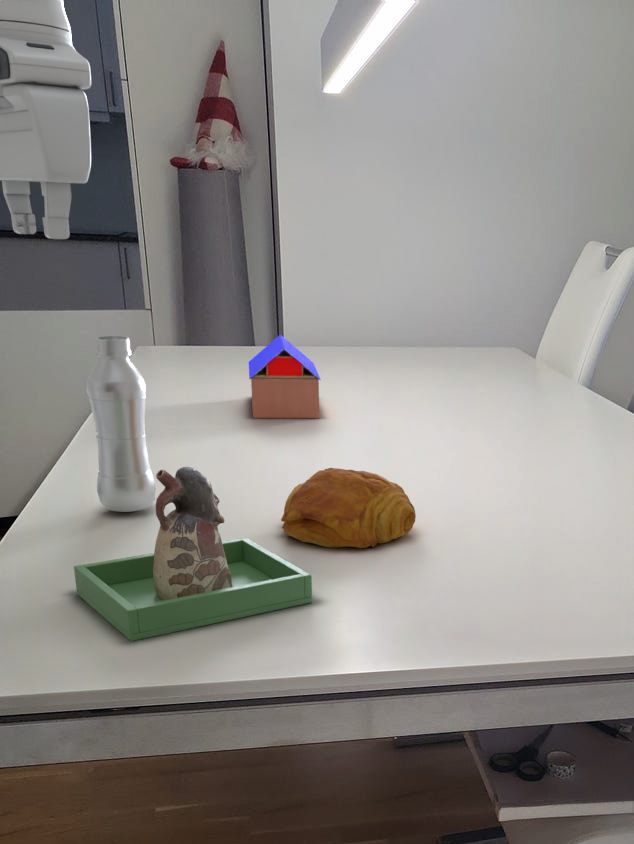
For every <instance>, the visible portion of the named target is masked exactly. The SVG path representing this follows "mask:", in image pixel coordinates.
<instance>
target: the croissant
mask: <svg viewBox="0 0 634 844" xmlns="http://www.w3.org/2000/svg"><path fill="white" fill-rule="evenodd" d="M416 516H417V515H416V510H415V507H414V505H413V504H412V502H411V500H410V499H409V496H408V495H407V494H406V492H405V491H404V488H403V487H402V486H400V485H399V484H397V483H396V482H392V481H389V480H388V479H387V478H385V477H384V476H381V475H380V474H377V473H373V472H369V471H365V470H354V469H344V468H337V467H328V468H325V469H321V470H318V471H316V472H315V473H314V474H313V475H311V476H310V477H309V478H308V479H306V480H305V481H304V482H302V483H299V484H297V485H296V486H294V487H293V489H292V490H291V492H290V493H289V495H288V497H287V498H286V501H285V504H284V509H283V515H282V516H281V519H280V521H281V522H282V523H283V524H282V526H281V528H282V529H283V532H284V533H285V535H286V536H289V537H292V538H294V539H296V540H298V541H300V542H302V543H310V544H313V545H314V544H315V545H318V546H321V547H326V548H345V547H347V548H348V547H351V548H357V549H366V548H368V547H372V548H375V547H376V546H377V544H385V543H388V542H392V541H393V540H397V539H400V537H401V538H402V537H403V536H405V535H407V534H408V533H409V532H410V531H412V529H413V527H414V525H415V523H416Z"/></svg>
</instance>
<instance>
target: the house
mask: <svg viewBox="0 0 634 844" xmlns="http://www.w3.org/2000/svg"><path fill="white" fill-rule="evenodd" d="M248 376H249V377H248V379H249V380H250V381H251V382H250V383H251V384H250V385H251V386H250V387H251V403H252V404H251V405H252V406H251V407H252V418H253V419H320V387H319V384H320V383H319V381H321V377H320V375H319V373H318V370H317V368H316V365H315V363H314V362H313V361H312V360H311V359H310V358H308V356H307V355H305V354H304V353H303V352H301V351H300V350H299V349H298V348H297V347H295V346H294V345H293V344H292V343H291V342H290V341H288V339H286V338H285V337H284V336H283V335H282V334H279V335H278V336H277V337H275V338H274V339H273V340H272V341H271V342H270V343H269V344H268V345H266V346H265V347H264V348H263V349H262V350H260V351H259V352H258V353H257V354H256V355H254V357H252V358H251V359H250V360H249V361H248Z"/></svg>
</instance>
